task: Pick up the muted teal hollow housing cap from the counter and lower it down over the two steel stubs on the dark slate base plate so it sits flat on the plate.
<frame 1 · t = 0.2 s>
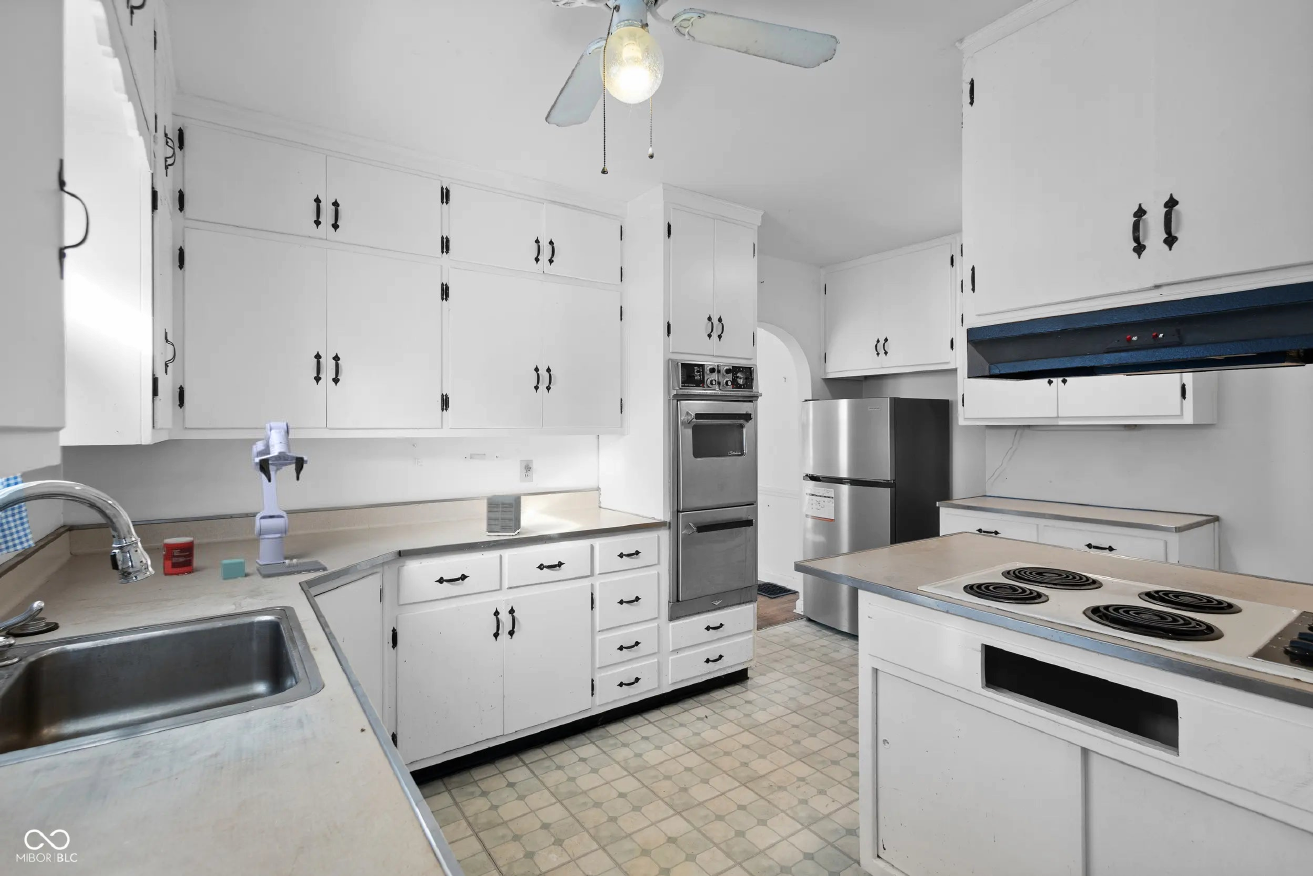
hand: (284, 479, 194), 31 cm above the counter, tool tilted 45°, fingers open, 7 cm apart
stub plate: (291, 570, 204), on the counter
canned food: (178, 573, 198), on the counter
housing cap: (233, 576, 194), on the counter
supplement box: (503, 534, 285), on the counter
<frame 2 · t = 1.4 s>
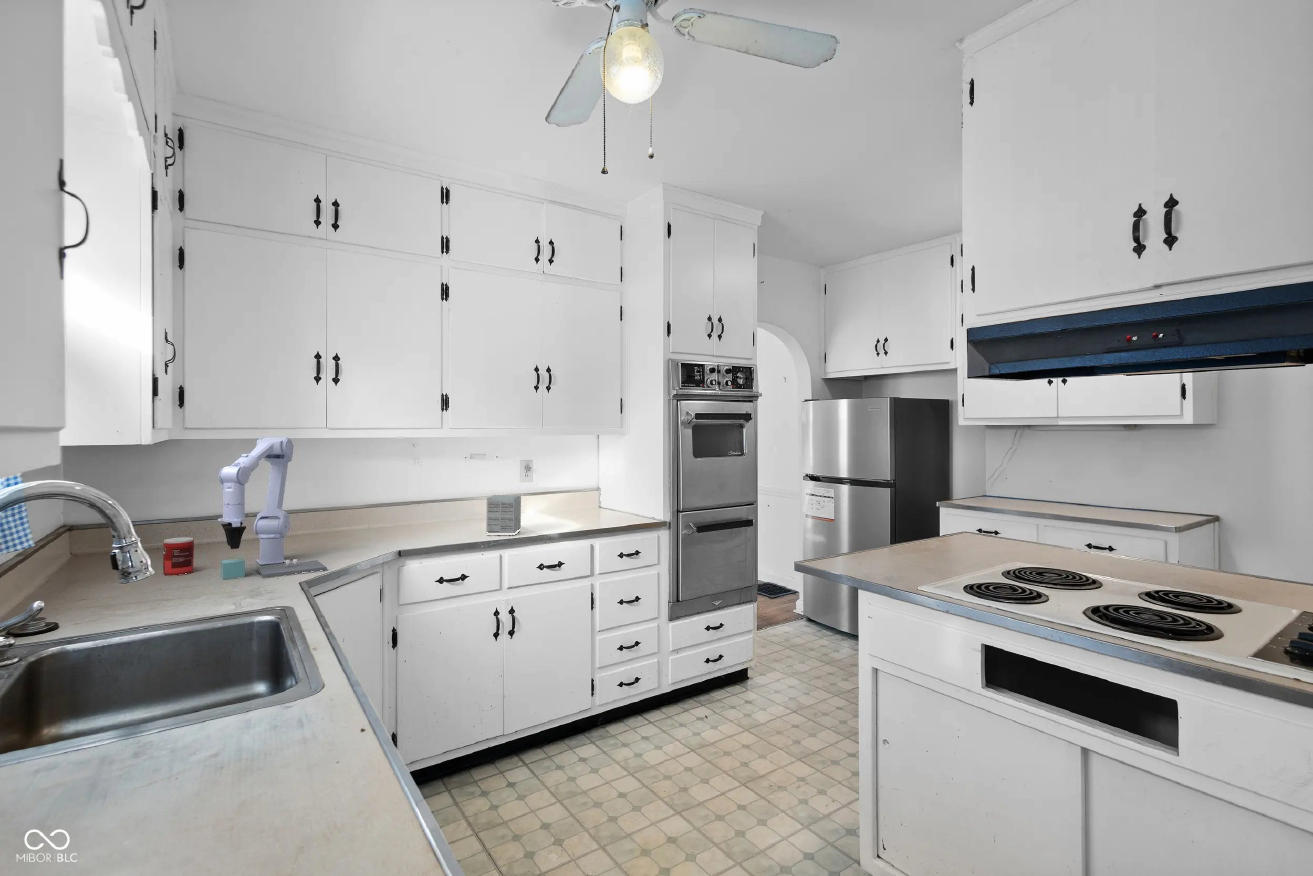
hand: (233, 547, 194), 9 cm above the counter, tool pointing down, fingers open, 7 cm apart
nothing on the counter moved.
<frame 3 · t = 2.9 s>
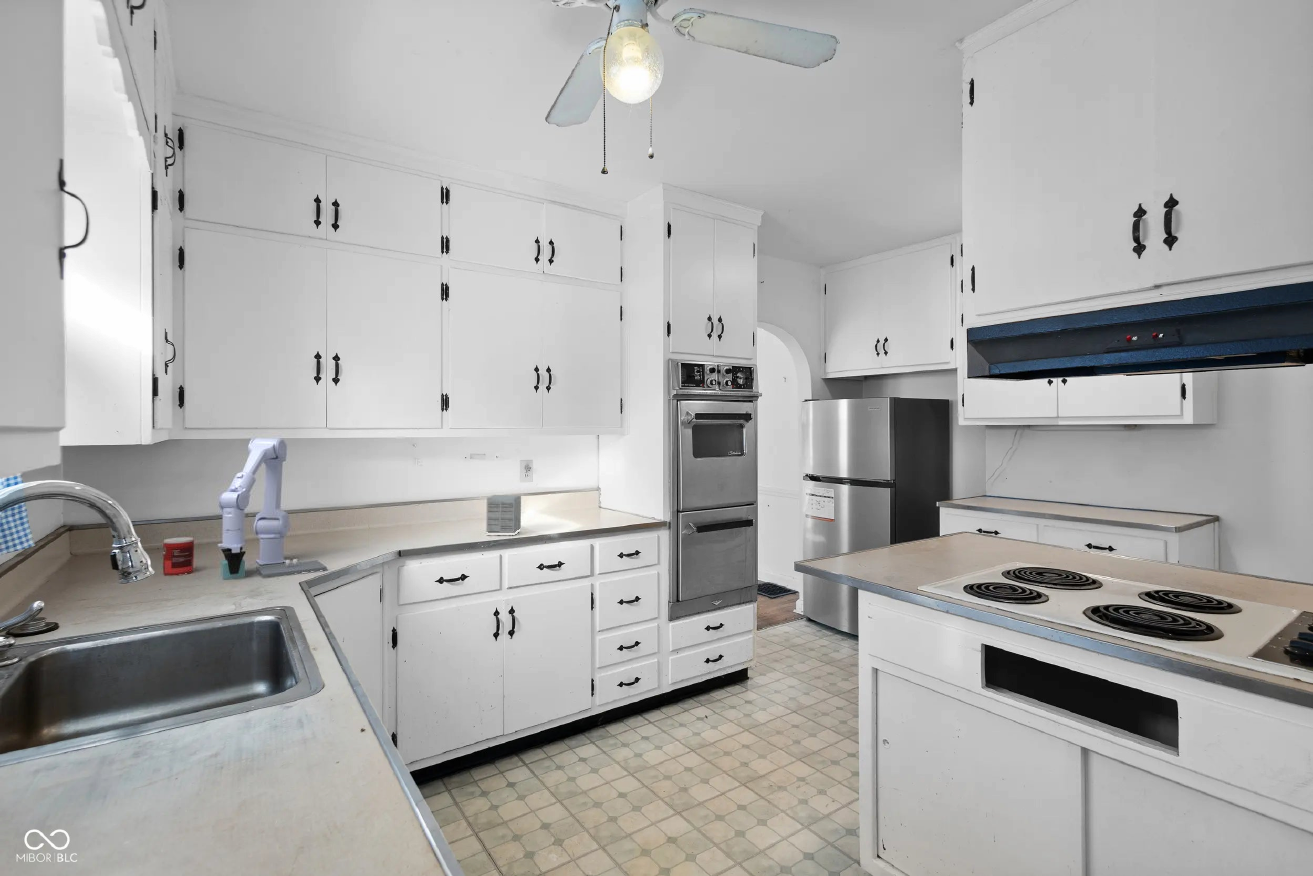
hand: (233, 572, 194), 1 cm above the counter, tool pointing down, fingers closed on housing cap, 6 cm apart
housing cap: (233, 576, 194), on the counter, touching gripper
everything else where it was.
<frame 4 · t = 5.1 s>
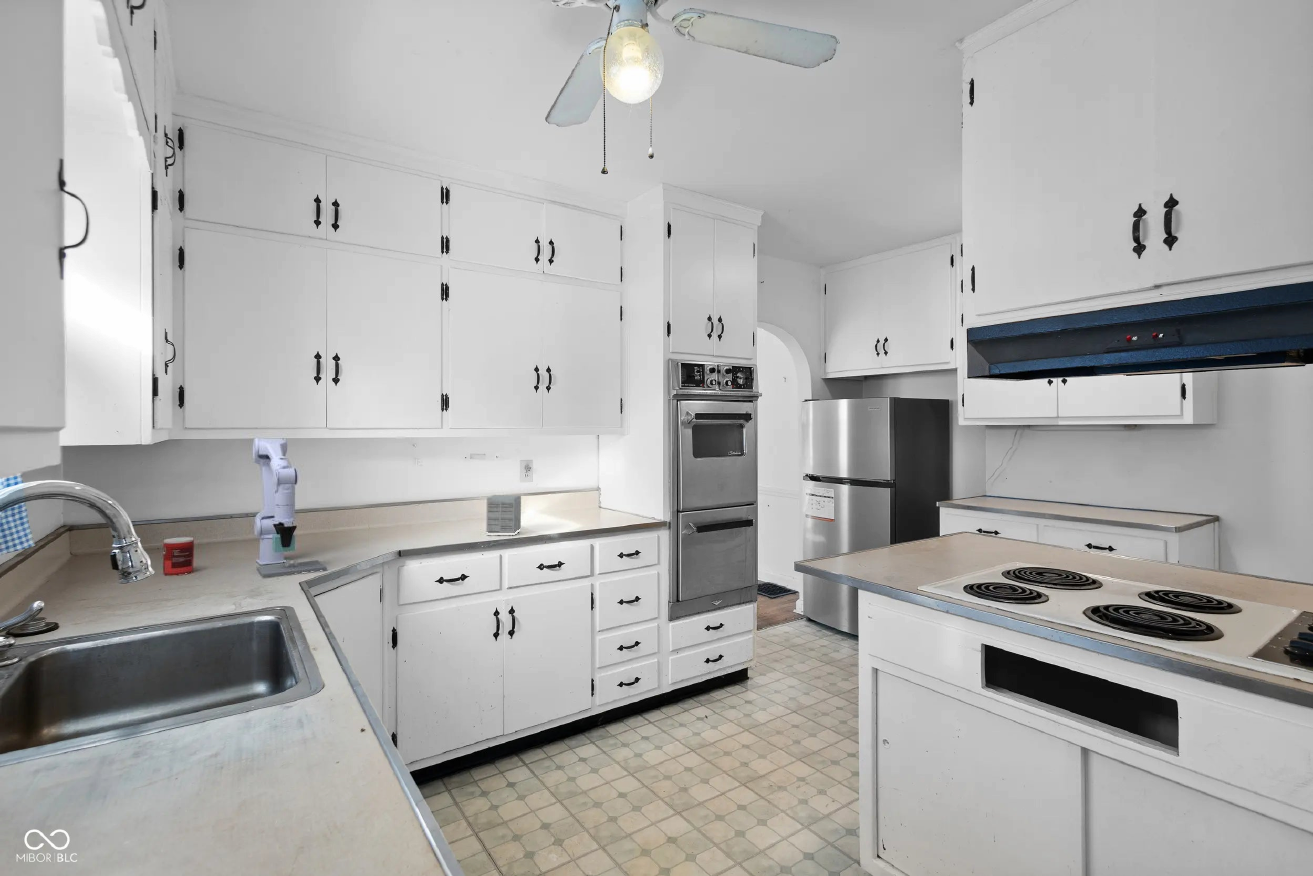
hand: (284, 545, 202), 8 cm above the counter, tool pointing down, fingers closed on housing cap, 6 cm apart
housing cap: (283, 550, 202), point 7 cm above the counter, touching gripper
everything else where it was.
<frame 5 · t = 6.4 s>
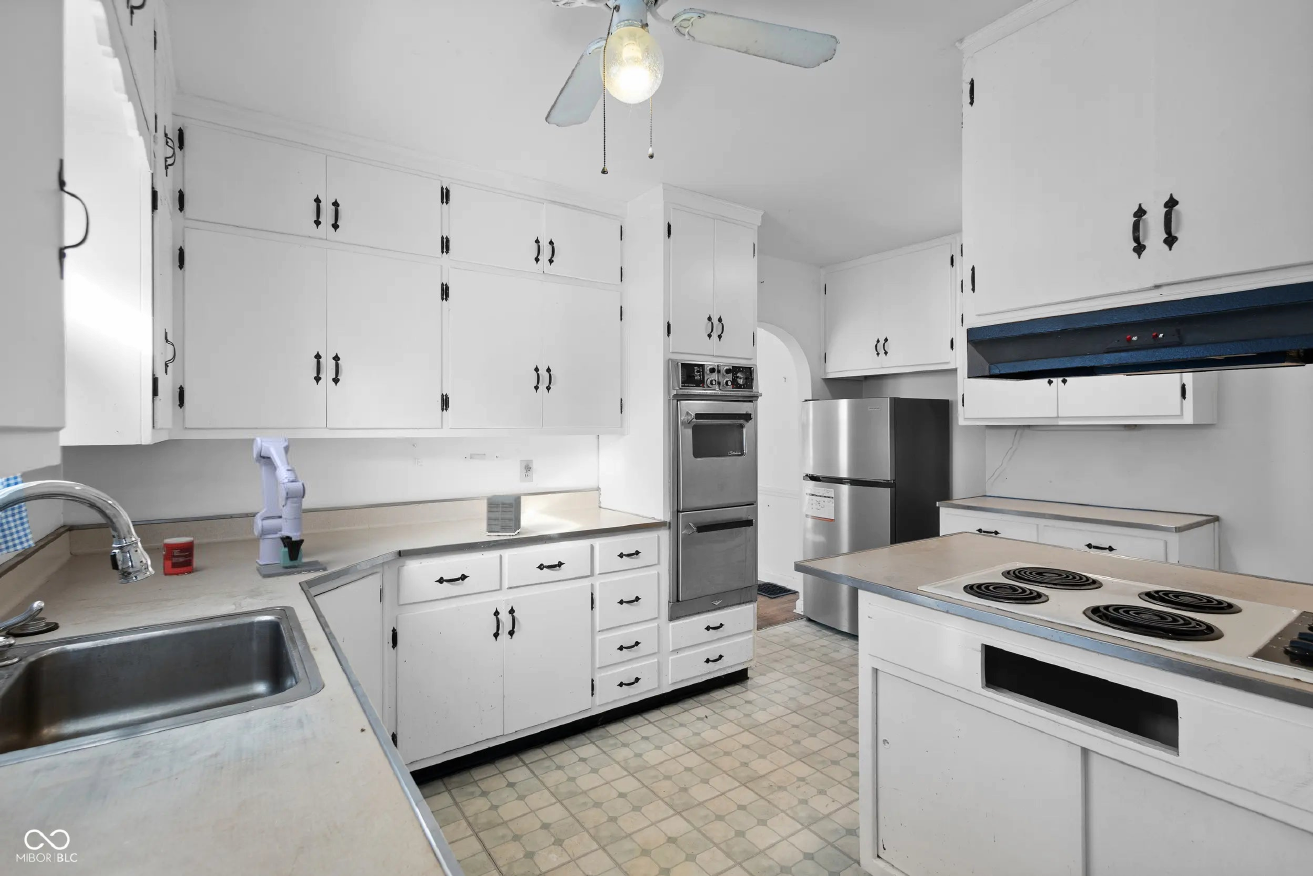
hand: (291, 559, 204), 4 cm above the counter, tool pointing down, fingers closed on housing cap, 6 cm apart
housing cap: (290, 563, 204), point 2 cm above the counter, touching gripper
everything else where it was.
when the fingers open (4 cm above the counter, at t = 7.4 s): housing cap stays where it is, resting on stub plate.
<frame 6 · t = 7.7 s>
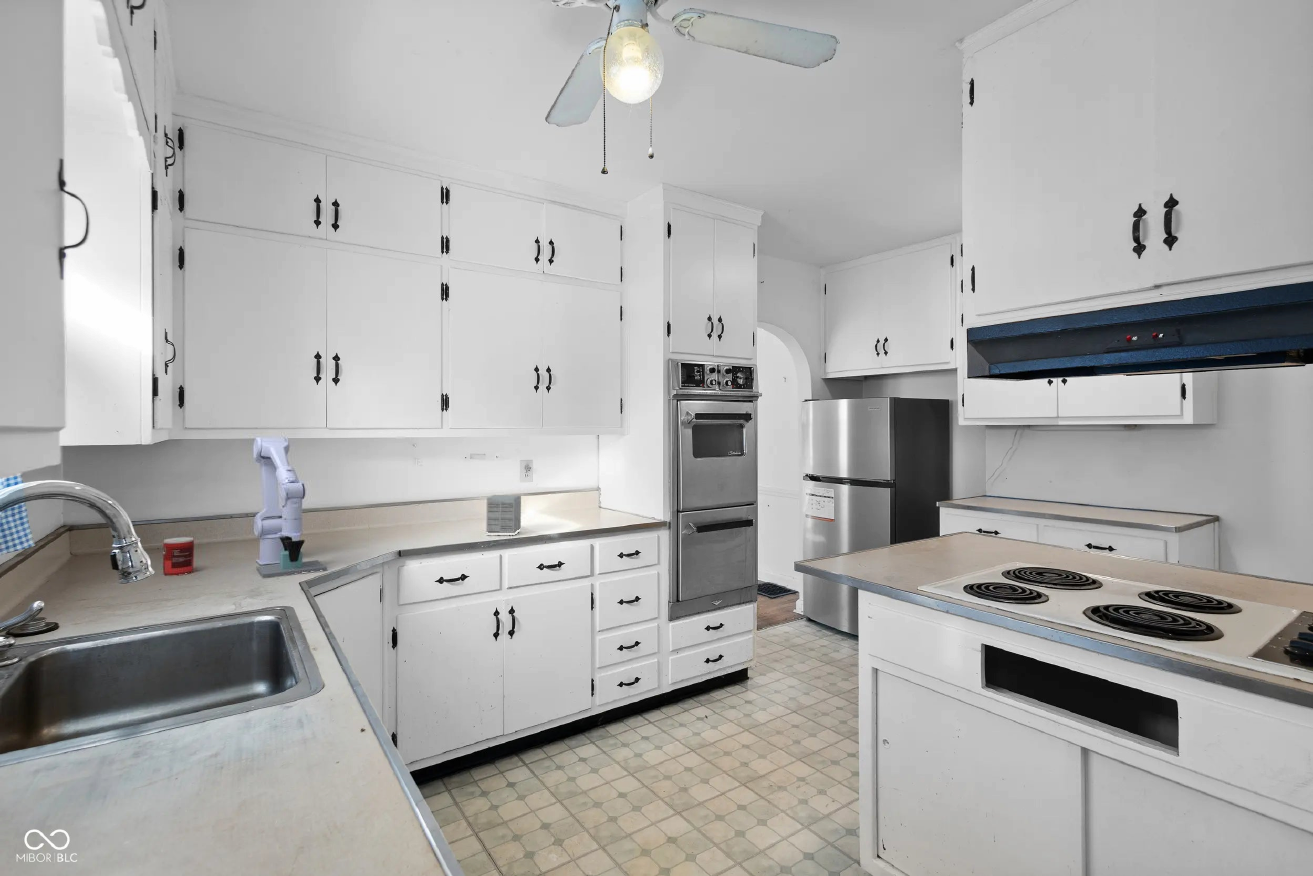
hand: (291, 559, 204), 4 cm above the counter, tool pointing down, fingers open, 7 cm apart
housing cap: (290, 567, 204), point 1 cm above the counter, touching stub plate
everything else where it was.
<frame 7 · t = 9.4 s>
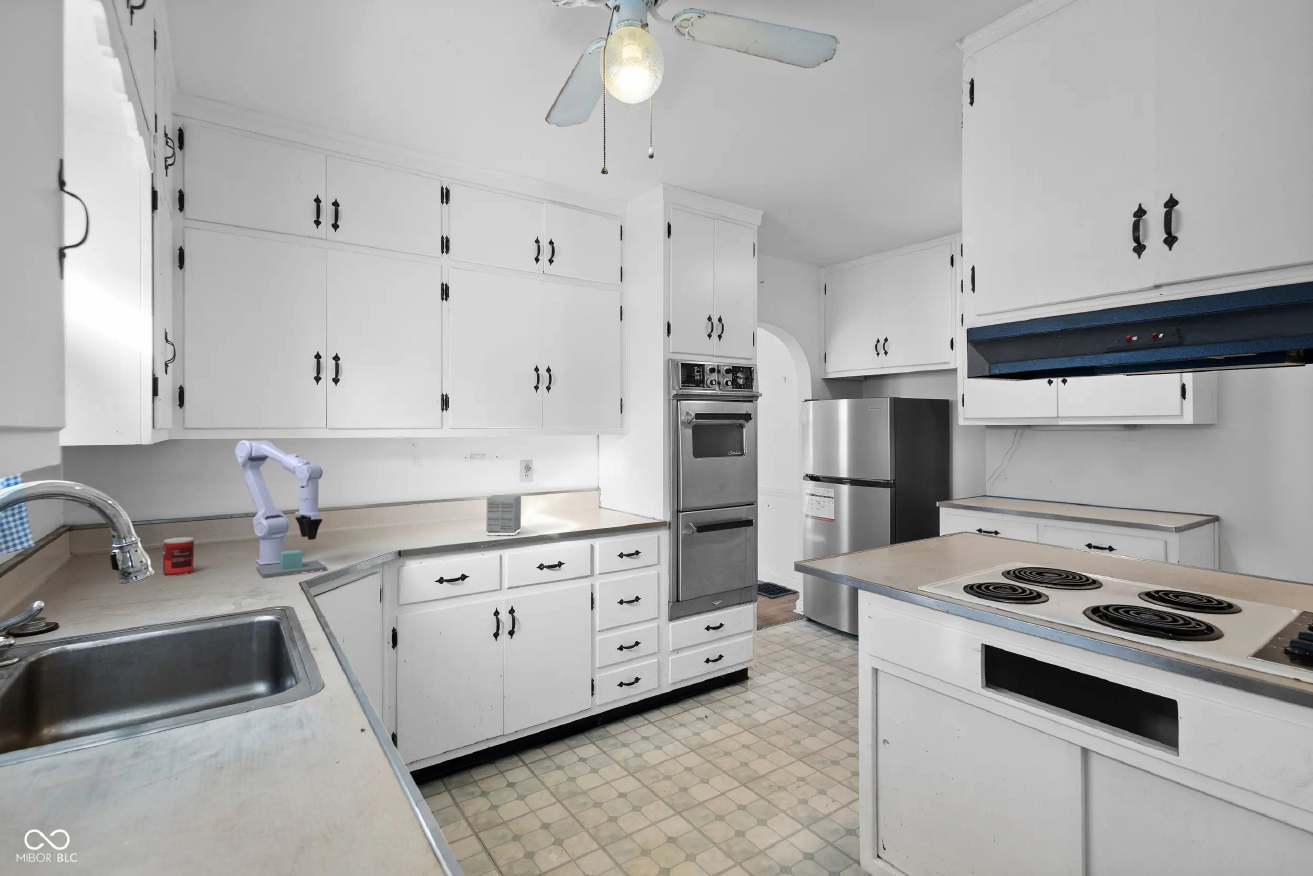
hand: (308, 538, 212), 9 cm above the counter, tool pointing down, fingers open, 7 cm apart
nothing on the counter moved.
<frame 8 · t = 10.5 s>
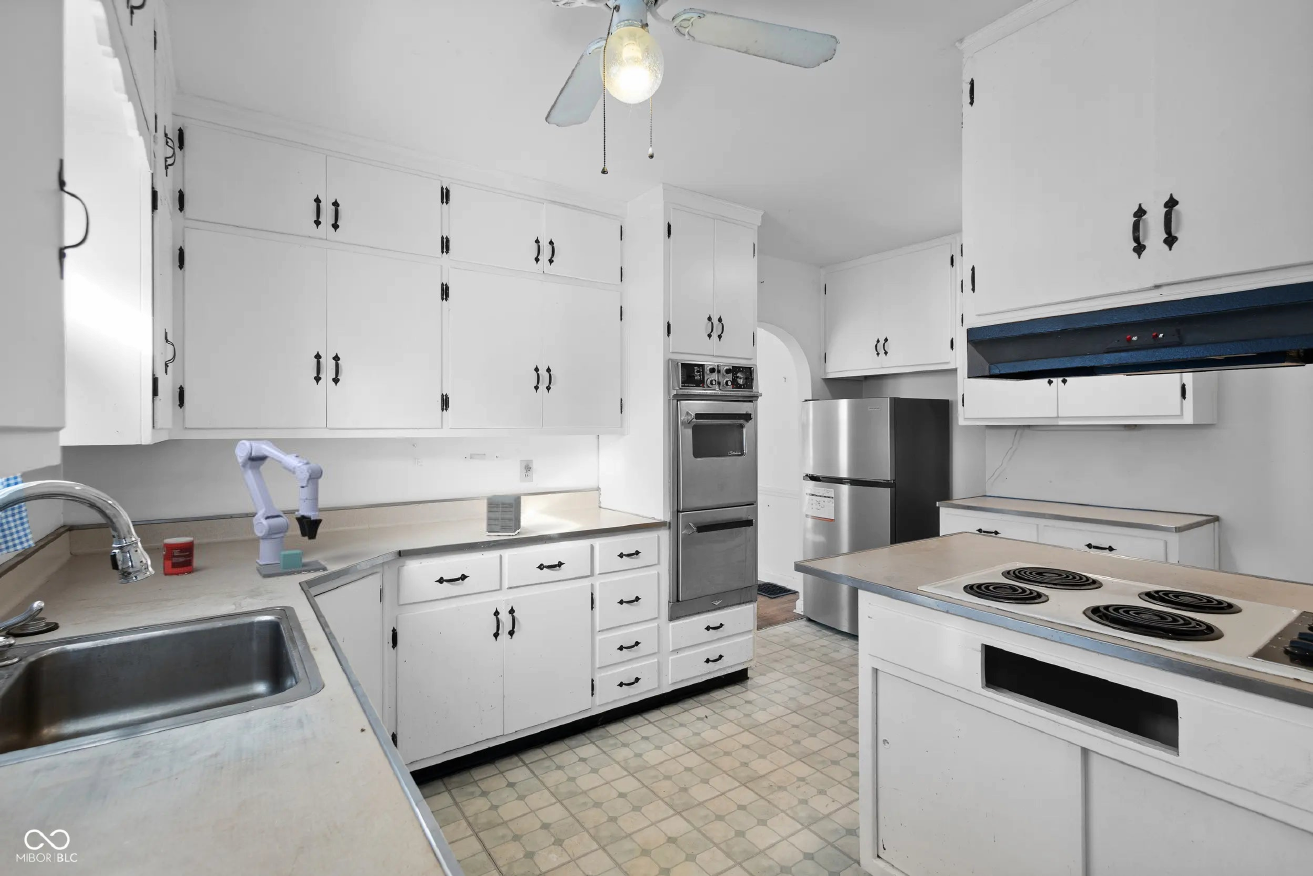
hand: (308, 538, 212), 9 cm above the counter, tool pointing down, fingers open, 7 cm apart
nothing on the counter moved.
at the end: housing cap 0.2 cm off-centre on the stub plate, point 1.2 cm above the stub plate's base; housing cap tilted 0°; the gripper is holding nothing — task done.
